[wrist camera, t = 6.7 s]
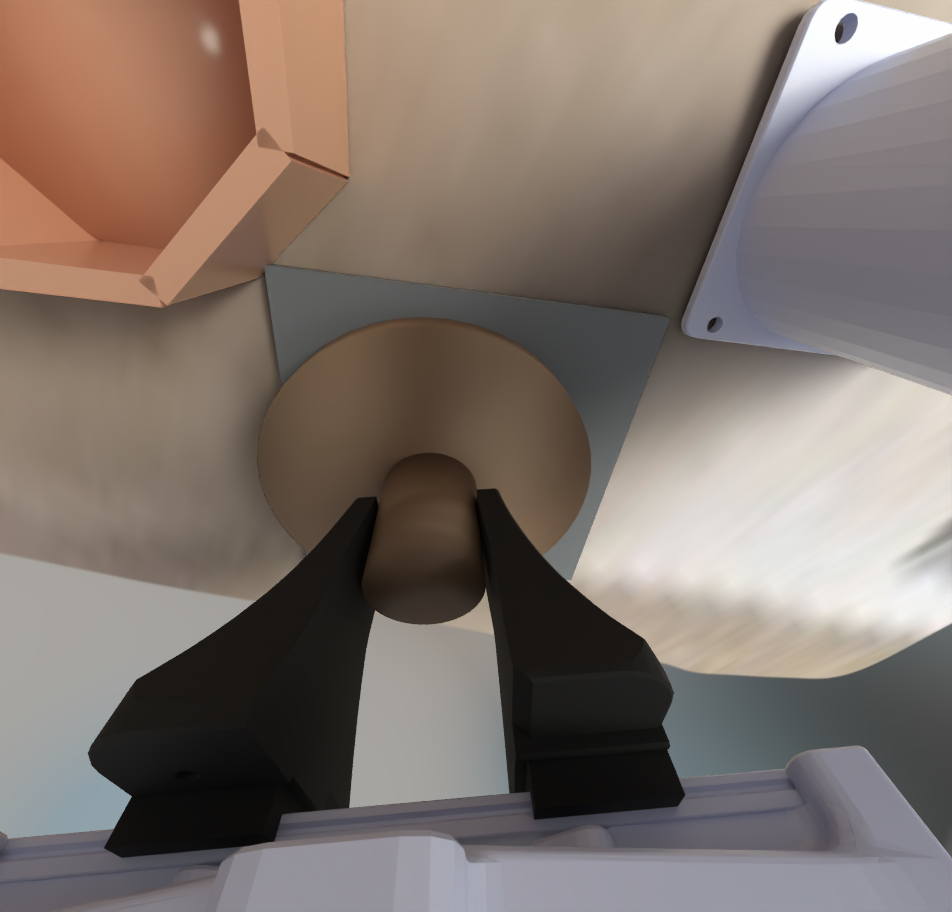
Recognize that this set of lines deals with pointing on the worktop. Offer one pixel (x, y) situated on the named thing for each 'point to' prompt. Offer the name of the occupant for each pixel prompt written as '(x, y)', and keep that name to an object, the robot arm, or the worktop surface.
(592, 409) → the mat
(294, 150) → the bowl
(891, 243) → the robot arm
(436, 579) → the lid
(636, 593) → the worktop surface
